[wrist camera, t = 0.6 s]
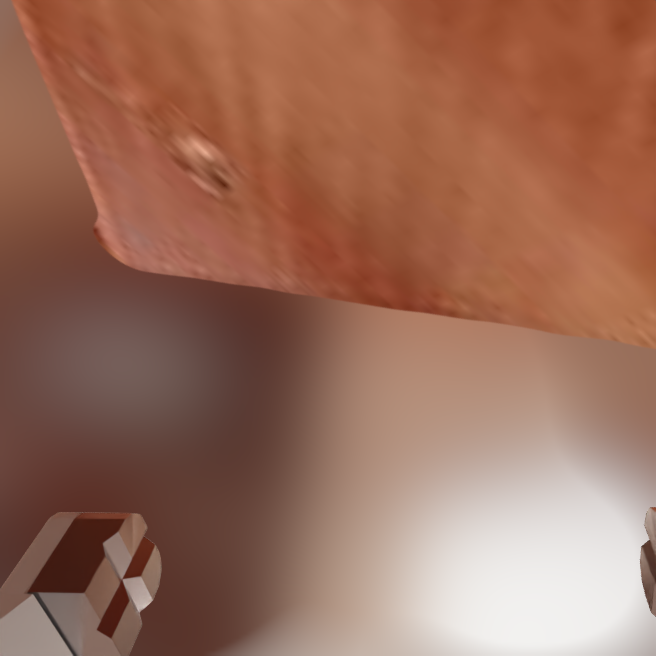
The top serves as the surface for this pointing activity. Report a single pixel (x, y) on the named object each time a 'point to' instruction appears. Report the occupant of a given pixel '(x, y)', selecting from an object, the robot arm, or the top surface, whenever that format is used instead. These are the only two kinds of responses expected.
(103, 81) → the top surface
